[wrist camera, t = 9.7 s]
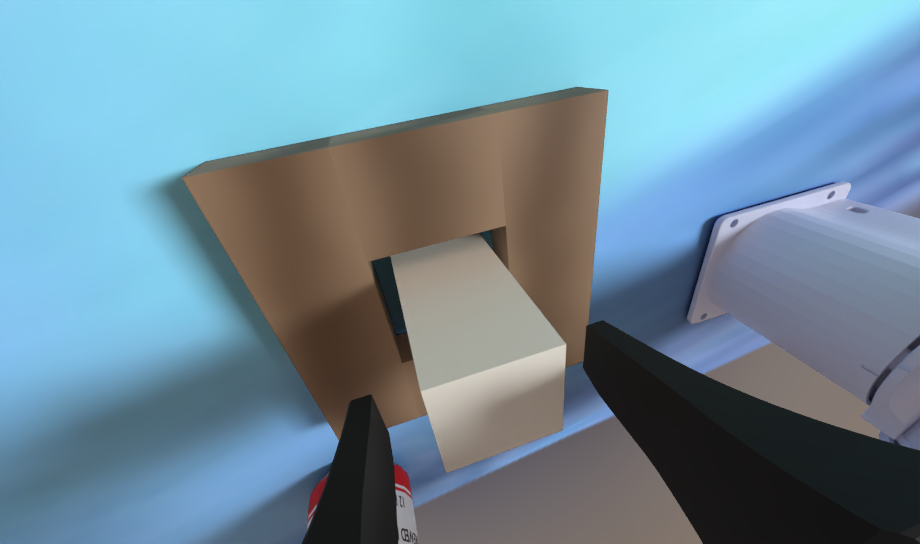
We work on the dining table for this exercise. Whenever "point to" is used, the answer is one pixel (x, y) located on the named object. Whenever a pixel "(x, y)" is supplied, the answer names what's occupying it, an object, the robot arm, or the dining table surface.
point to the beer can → (403, 503)
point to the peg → (479, 351)
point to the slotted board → (408, 230)
